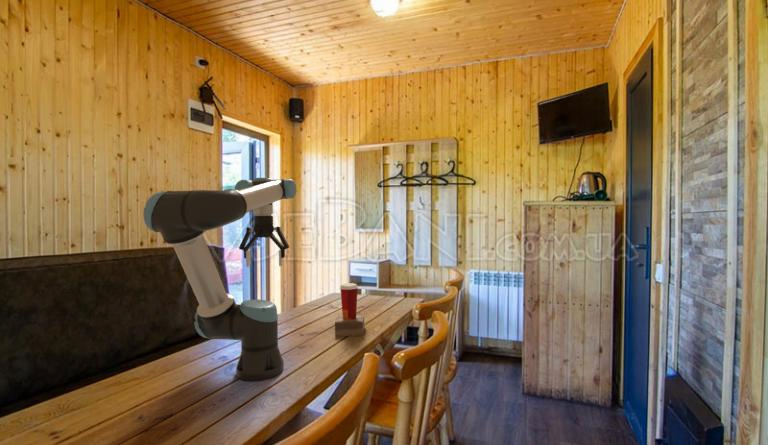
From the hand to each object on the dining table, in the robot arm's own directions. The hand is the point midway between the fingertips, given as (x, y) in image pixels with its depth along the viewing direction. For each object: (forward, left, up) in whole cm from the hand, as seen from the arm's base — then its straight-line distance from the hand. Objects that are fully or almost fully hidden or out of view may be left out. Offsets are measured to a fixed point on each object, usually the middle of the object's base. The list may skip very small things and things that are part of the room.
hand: (264, 266), depth 152 cm
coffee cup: (+12, -34, -26) cm, 44 cm away
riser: (+12, -34, -32) cm, 48 cm away
